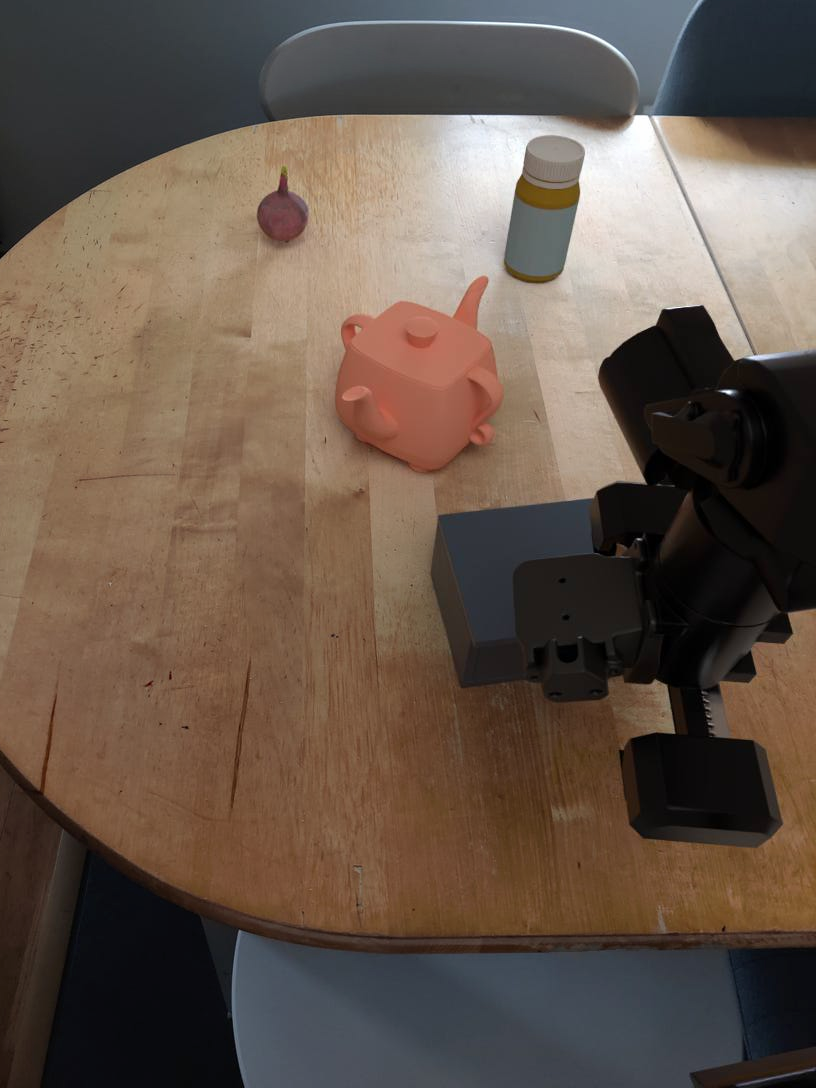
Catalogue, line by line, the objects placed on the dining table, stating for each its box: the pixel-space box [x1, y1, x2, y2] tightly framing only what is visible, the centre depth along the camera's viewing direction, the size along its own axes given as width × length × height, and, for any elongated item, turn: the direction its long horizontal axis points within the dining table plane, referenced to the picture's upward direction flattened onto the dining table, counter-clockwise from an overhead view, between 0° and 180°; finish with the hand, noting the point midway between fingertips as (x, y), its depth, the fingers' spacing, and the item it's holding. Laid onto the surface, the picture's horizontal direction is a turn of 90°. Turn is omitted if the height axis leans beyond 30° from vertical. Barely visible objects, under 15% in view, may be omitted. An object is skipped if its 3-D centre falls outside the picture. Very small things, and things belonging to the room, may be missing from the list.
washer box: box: [430, 522, 526, 689], centre depth 68 cm, size 11×14×7 cm
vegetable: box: [256, 165, 310, 244], centre depth 104 cm, size 6×6×10 cm
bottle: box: [503, 134, 586, 284], centre depth 99 cm, size 7×7×15 cm
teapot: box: [334, 275, 505, 473], centre depth 81 cm, size 15×17×13 cm
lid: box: [436, 497, 594, 648], centre depth 64 cm, size 11×14×5 cm
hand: (627, 709), depth 51 cm, fingers open, 9 cm apart
